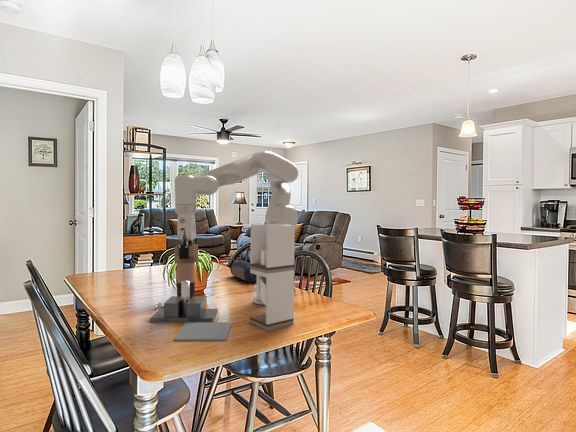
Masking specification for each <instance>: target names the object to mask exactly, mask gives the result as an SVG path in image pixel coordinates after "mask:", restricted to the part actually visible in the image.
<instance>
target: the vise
mask: <svg viewBox="0 0 576 432" xmlns="http://www.w3.org/2000/svg"><path fill="white" fill-rule="evenodd" d="M206 299H207V297H206V296H192V298H191V299H190V281H189V280H183V281H181V296H177V295H176V296H170V297H169V298H168V299H166V300H165V302H164V303H163V304H162V303H161V302H157V304H155V305H154V307H152V311H155V310H157V309H159V310H157V311H156V312H155V313H154V314H153V315H152V316H151V317H150V318H149V323H186V322H214V320H215V318H216V316H217V315H218V312H219V311H218V309H219V308H206V307H207V306H206V305H207V302H206Z"/></svg>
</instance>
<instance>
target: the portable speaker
mask: <svg viewBox="0 0 576 432" xmlns="http://www.w3.org/2000/svg"><path fill="white" fill-rule="evenodd" d="M230 273H231V275H232V276H234V277H236V278H238V279H239V280H243V281H245V282H248V283H251V284H254V283H257V275H256V274H252V273H250V262H249V261H245V260H243V259H237V260H235V261H233V262H232V263H231V265H230Z"/></svg>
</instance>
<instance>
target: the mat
mask: <svg viewBox="0 0 576 432" xmlns="http://www.w3.org/2000/svg"><path fill="white" fill-rule="evenodd" d="M232 324H233V322H228V321H226V322H223V321H222V322H214V321H213V322H184V324H183V325H182V327H181V328H180V330H179V331H178V332H177V334H175V337H174V338H173V341H174V342H226V341H227V339H228V337H229V334H230V330H231V327H232Z"/></svg>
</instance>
